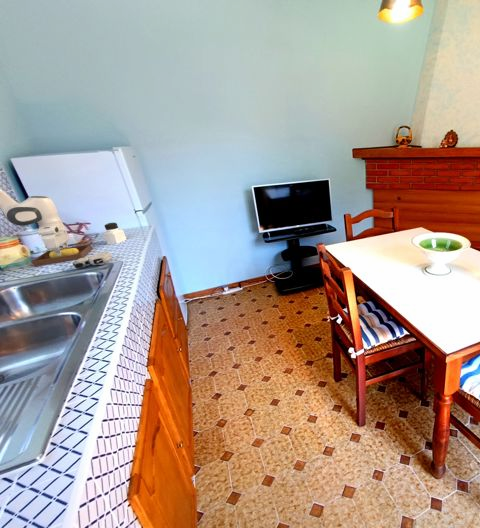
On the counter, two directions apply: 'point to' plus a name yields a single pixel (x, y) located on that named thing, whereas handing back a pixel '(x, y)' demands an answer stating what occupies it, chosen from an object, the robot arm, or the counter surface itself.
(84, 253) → the tray
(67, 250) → the corn cob
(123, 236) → the medicine bottle
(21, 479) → the counter surface
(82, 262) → the robot toy
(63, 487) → the counter surface
